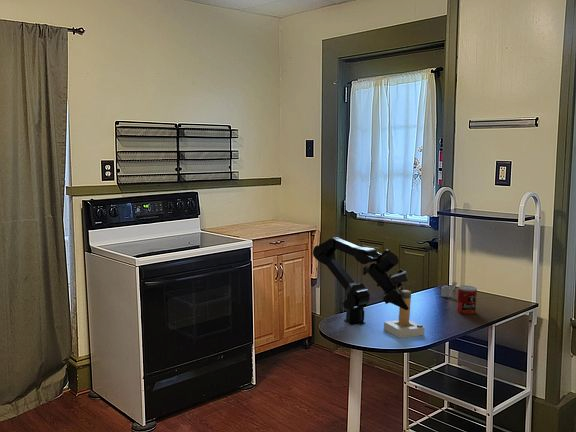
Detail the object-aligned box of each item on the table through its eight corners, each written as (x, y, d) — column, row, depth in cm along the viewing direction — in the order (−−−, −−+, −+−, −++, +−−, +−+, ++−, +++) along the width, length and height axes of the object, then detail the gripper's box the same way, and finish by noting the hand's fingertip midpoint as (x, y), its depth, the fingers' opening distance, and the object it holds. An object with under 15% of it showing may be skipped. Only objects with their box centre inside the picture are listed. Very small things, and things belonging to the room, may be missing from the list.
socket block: (399, 338, 214) (400, 328, 214) (383, 329, 224) (384, 320, 224) (424, 335, 218) (424, 325, 218) (407, 326, 228) (407, 317, 228)
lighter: (440, 296, 276) (441, 279, 276) (442, 295, 278) (443, 279, 277) (454, 298, 272) (456, 282, 271) (456, 298, 273) (457, 281, 272)
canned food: (462, 315, 246) (464, 290, 244) (453, 309, 254) (455, 285, 252) (478, 314, 247) (480, 289, 246) (469, 309, 255) (471, 285, 254)
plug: (402, 326, 218) (404, 293, 217) (396, 323, 222) (398, 290, 220) (411, 325, 220) (413, 292, 218) (405, 322, 224) (407, 289, 222)
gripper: (393, 268, 210) (422, 301, 208) (399, 259, 228) (426, 289, 226) (371, 287, 213) (399, 319, 212) (378, 276, 231) (404, 306, 229)
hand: (408, 308), depth 220 cm, fingers closed on plug, 4 cm apart
